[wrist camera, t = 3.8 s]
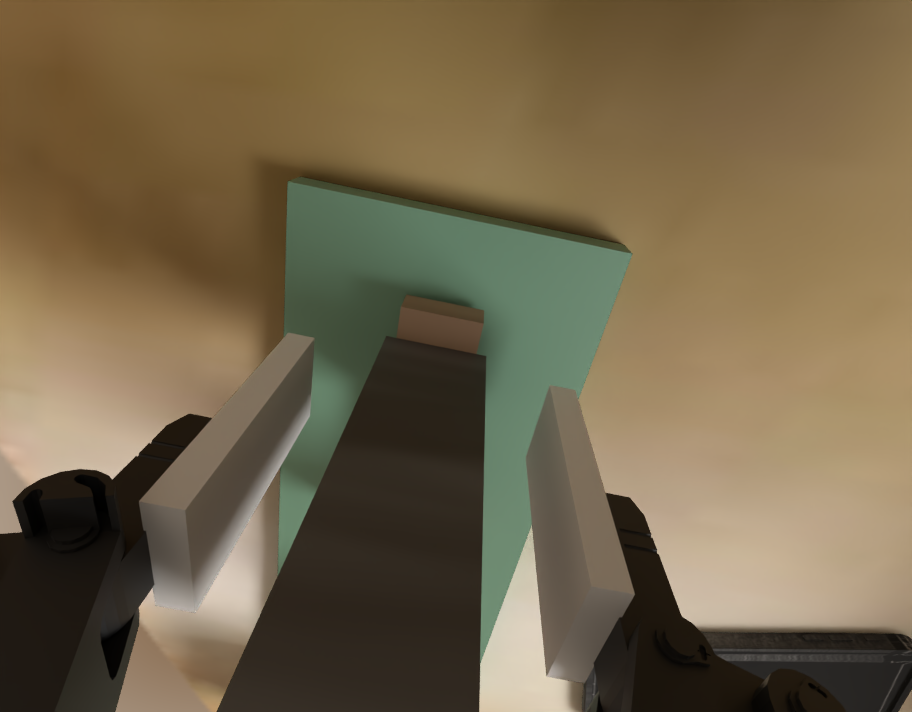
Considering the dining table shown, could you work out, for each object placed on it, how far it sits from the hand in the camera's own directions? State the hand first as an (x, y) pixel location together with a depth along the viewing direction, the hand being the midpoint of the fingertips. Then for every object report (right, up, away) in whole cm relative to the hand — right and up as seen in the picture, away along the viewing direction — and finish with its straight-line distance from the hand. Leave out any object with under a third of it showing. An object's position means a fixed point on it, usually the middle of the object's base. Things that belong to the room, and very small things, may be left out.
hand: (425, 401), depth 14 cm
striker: (0, -1, +3) cm, 3 cm away
